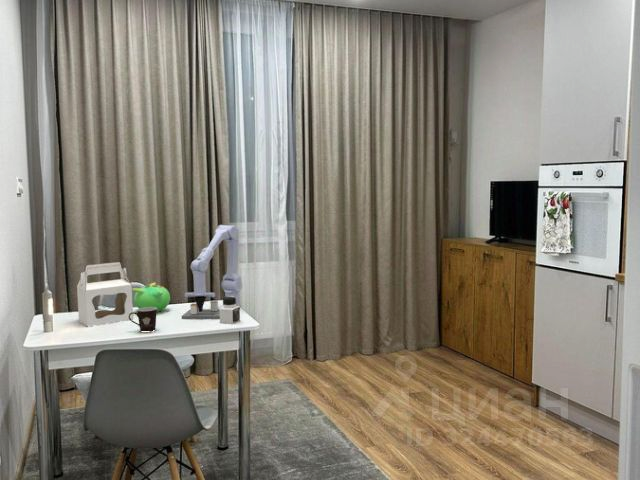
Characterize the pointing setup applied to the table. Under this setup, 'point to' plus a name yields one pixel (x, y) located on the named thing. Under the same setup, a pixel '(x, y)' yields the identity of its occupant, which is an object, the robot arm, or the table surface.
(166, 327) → the table surface
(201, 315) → the plate
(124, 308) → the gable box
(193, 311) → the breaker
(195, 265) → the robot arm
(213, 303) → the breaker
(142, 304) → the green teapot
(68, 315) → the table surface
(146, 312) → the coffee mug
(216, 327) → the table surface
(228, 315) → the medicine bottle
